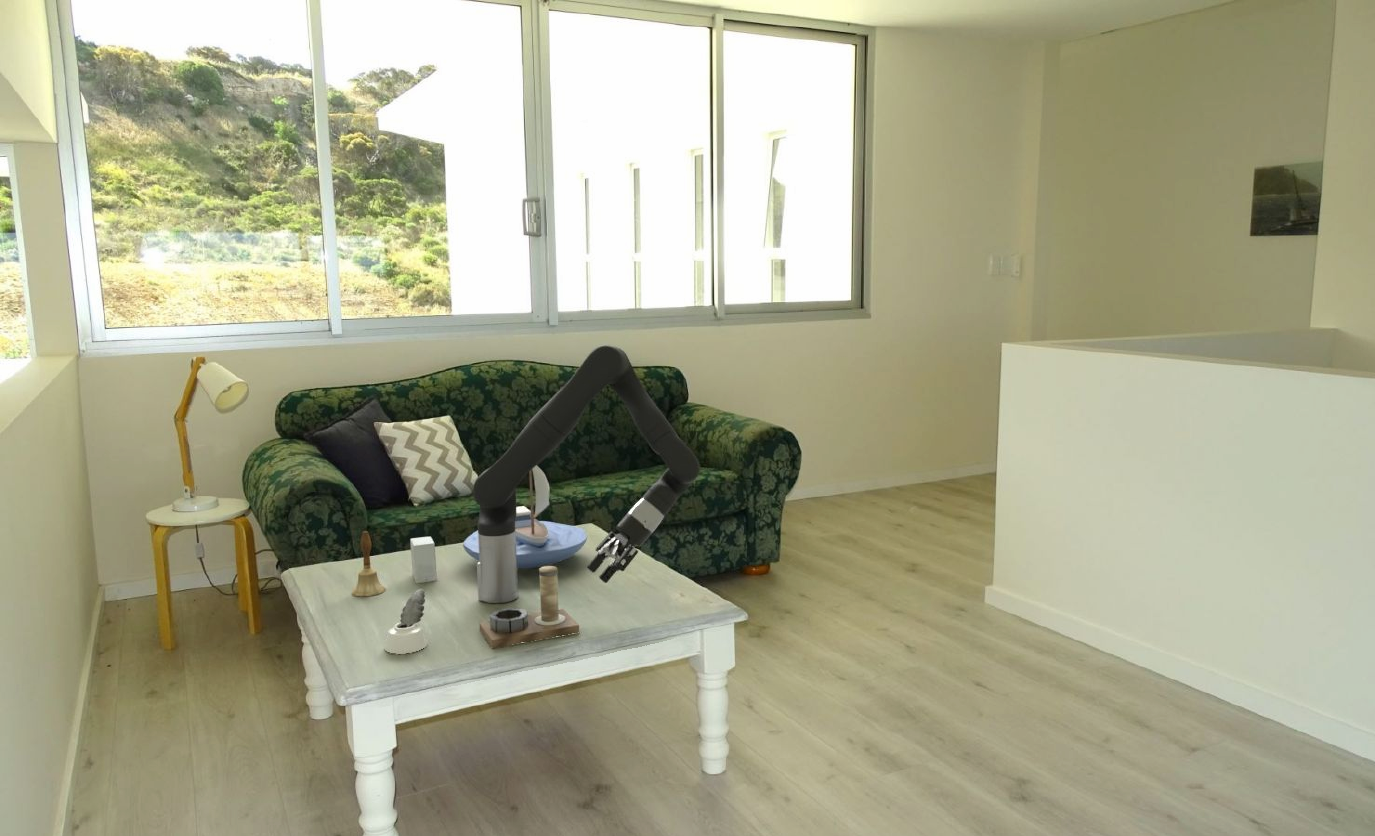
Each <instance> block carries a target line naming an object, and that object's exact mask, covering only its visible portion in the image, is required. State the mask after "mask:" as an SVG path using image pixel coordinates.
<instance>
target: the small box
mask: <svg viewBox="0 0 1375 836" xmlns="http://www.w3.org/2000/svg"><path fill="white" fill-rule="evenodd" d="M409 541H410V555H411V570H412V576H413V579H414V581H415V584H423V583H428V582H436V581H438V575H437V574H438V571H437V559H436V558H437V557H436V546H435V545H436V544H435V542H434V540H433V538H432V536H422V537H421V536H420V537H413V538H410V539H409Z"/></svg>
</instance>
